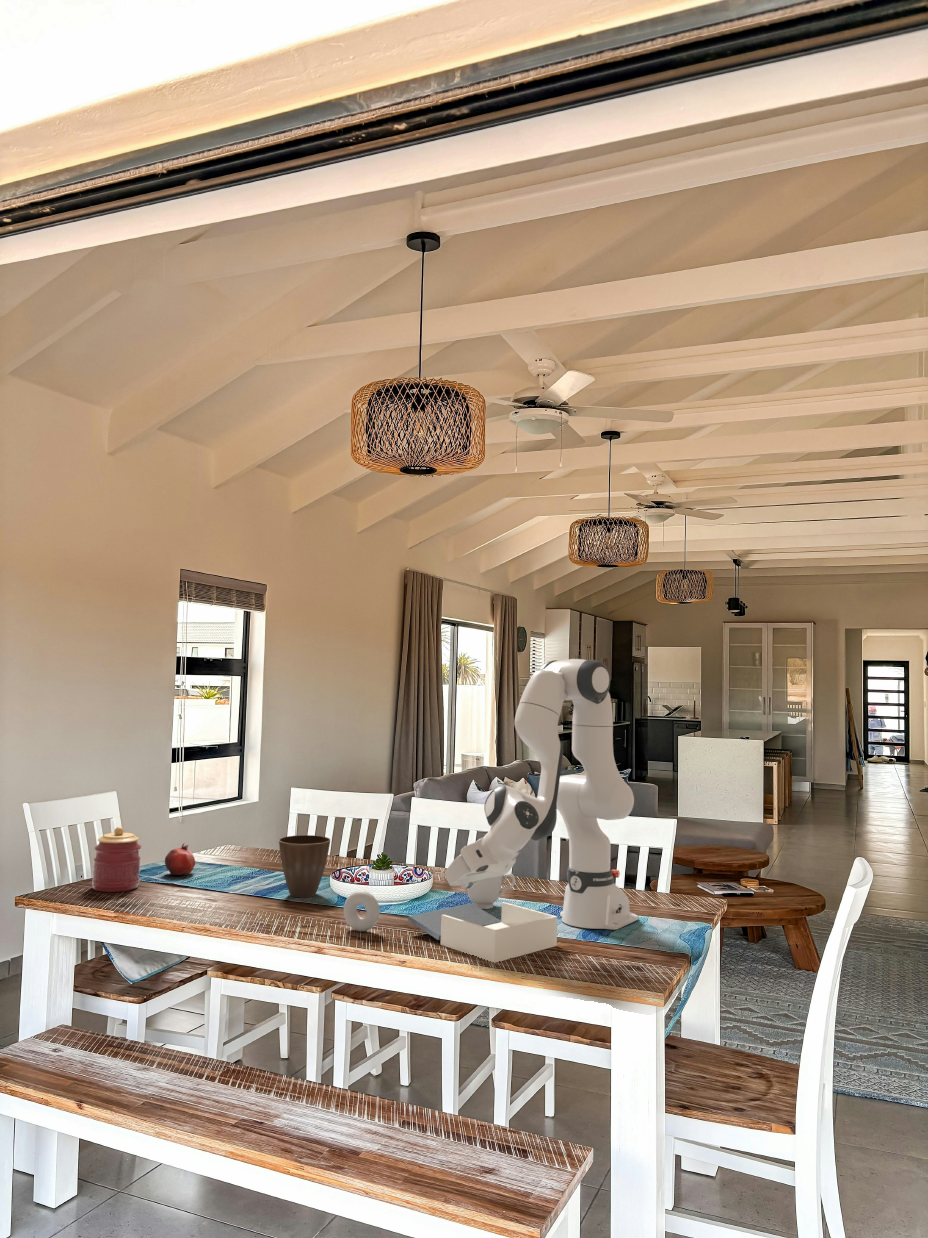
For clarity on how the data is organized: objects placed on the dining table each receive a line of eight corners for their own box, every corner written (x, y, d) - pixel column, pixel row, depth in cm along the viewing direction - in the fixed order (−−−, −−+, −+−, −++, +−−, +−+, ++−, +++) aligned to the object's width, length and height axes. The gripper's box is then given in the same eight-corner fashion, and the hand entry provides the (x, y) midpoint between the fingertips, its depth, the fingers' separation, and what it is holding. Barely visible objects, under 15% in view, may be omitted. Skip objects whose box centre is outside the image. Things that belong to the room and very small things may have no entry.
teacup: (511, 914, 245) (512, 877, 246) (458, 910, 248) (459, 873, 249) (517, 904, 257) (518, 869, 258) (466, 900, 260) (468, 865, 261)
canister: (128, 893, 255) (132, 831, 256) (83, 892, 255) (87, 829, 256) (145, 884, 267) (149, 824, 269) (103, 882, 268) (106, 822, 269)
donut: (381, 932, 223) (383, 891, 224) (374, 935, 220) (376, 894, 221) (347, 927, 227) (348, 887, 228) (340, 930, 224) (341, 889, 225)
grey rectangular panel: (501, 921, 230) (471, 903, 238) (439, 935, 215) (408, 916, 223) (500, 929, 230) (469, 911, 239) (437, 944, 215) (407, 924, 223)
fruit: (157, 876, 278) (159, 844, 279) (176, 870, 287) (177, 839, 288) (183, 879, 276) (184, 846, 276) (200, 873, 285) (202, 841, 285)
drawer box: (556, 946, 217) (557, 916, 217) (494, 963, 201) (495, 931, 202) (503, 929, 230) (503, 902, 230) (440, 944, 214) (441, 915, 215)
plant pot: (300, 903, 250) (303, 845, 251) (265, 894, 259) (268, 839, 260) (338, 895, 262) (341, 839, 263) (303, 886, 271) (306, 833, 272)
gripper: (515, 838, 228) (488, 870, 235) (457, 848, 214) (430, 881, 221) (528, 858, 225) (500, 890, 231) (470, 869, 211) (442, 903, 217)
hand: (465, 886), depth 226 cm, fingers closed
